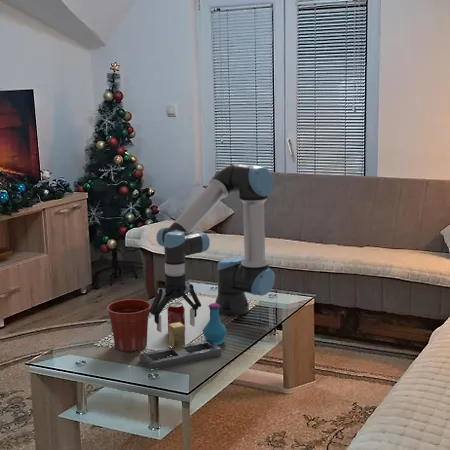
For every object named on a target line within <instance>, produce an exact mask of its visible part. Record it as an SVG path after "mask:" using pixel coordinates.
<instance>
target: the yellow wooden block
mask: <svg viewBox="0 0 450 450" xmlns="http://www.w3.org/2000/svg"><path fill="white" fill-rule="evenodd" d="M185 332H186V325H185V326H184V325H183V324H182V323H180V322H177V323H172V324H169V332H168V341H169V342H168V343H169V344H168V346H169V345H170V346H171V347H177V346H182V345H186V333H185ZM171 347H170V348H171Z"/></svg>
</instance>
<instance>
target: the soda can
mask: <svg viewBox="0 0 450 450" xmlns="http://www.w3.org/2000/svg"><path fill="white" fill-rule="evenodd" d="M166 309H167V311H166V312H167V327H168V328H167V332H168V333H169V324H172V323H177V322H180V323H182V324H183V325H184V326H185V327H186V319H185V318H186V317H185V316H186V315H185V307H184V305H183V302H179V301H178V302H177V301H175V302H170V303H169V304H168V307H167V308H166Z"/></svg>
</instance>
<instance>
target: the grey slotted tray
mask: <svg viewBox="0 0 450 450" xmlns="http://www.w3.org/2000/svg"><path fill="white" fill-rule="evenodd" d="M170 355H173V356H171V357H167V356H170ZM219 356H222V348H221V347H220V346H218V345H215V344H214V343H213V342H211V341H210V340H206V339H205V340H202V341H201V340H200V341H197V342H192V343H189V344H185V345H182V346H177V347H172V348H171V347H168V348H163V349H158V350H153V351H149V352H145V353H144V352H143V353H140V354H139V360H140V361H139V362H140V363H142V364H143V365H144V366H145V365H146V366H147V367H148V368H149V369H150V370H151V369H155V370H157V369H156V368H160V369H163V368H164V367H165V368H168V367H169V368H170V367H173V366H178V365H182V364H186V363H191V362H195V361H197V362H198V361H200V360H205V359H209V358H213V357H214V358H215V357H219ZM163 357H166V358H163ZM158 358H161V359H158ZM154 359H157V360H154ZM146 366H145V367H146ZM147 367H146V368H147ZM148 368H147V369H148ZM165 368H164V369H165ZM149 369H148V370H149ZM150 370H149V371H150ZM151 371H152V370H151Z"/></svg>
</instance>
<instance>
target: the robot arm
mask: <svg viewBox="0 0 450 450" xmlns="http://www.w3.org/2000/svg"><path fill="white" fill-rule="evenodd" d="M273 188H274V178H273V174H272V172H271V171H270V170H269V169H268V168H267V167H265V166H260V165H253V164H241V163H234V164H231V165H228V166H226V167H224V168H223V169H221V170H220V171H219V172H217V173H216V174H214V176H213V177H212V178H211V179H210V180H209V181H208V185H207V187H206V188H205V189H204V190H203V191H202V192H201V193H200V194H199V195H198V196H197V197H196V198H195V200H193V201H192V203H191V204H190V205H189V206H188V207H187V208H186V209H184V211H183V212H182V213H181V214H180V215H179V216H178V217H177V218H176V219H175V221H173V223H172V224H171V225H170V226H168V227H162V228H160V229H159V230H158V231H157V233H156V242H157V244H158V245H159V246H161V247H163V248H164V249H163V250H164V273H165V274H164V283H165V284H164V285H165V286H164V288H162V287H161V288H160V287H157V288H156V293H155V294H156V295H155V297H154V299H153V301H152V303H151V307H150V308H149V314H151V315H154V316H153V318H154V319H153V320H154V323H155V324H156V331H157V332H159V333H162V314H161V313H162V311H163V310H164V308H165V307H166V305H168V303H169V302H170V301H171V300H175V299H180V298H183V299H184V301H185V302H186V303H187V304H188V305H189V306H190V307H189V325H190V326H191V327H195V326H196V322H195V321H196V320H195V318H197V316H198V315H197V310H198V309H199V308H202V303H201V301H200V299H199V297H198V296H197V294H196V292H195V290H194V289H195V288H194V285H193V284H192V283H190V282H189V283H187V284H186V274H185V273H186V257H187V256H191V255H195V254H201V253H203V252H206V251H208V250H209V248H210V243H211V242H210V238H209V236H208V234H207V233H205V232H204V231H203V232H202V231H201V232H199V231H198V232H195V233H193V232H192V231H193V230H194V229H195V228H196V227H197V226H198V225H199V224H200V222H201V221H202V220H204V218H205V217H206V216H207V215H208V214H209V213H210V212H211V211H212V210H213V209H214V208H215V206H216V205H217V204H218V203H219V202H220V201H221V200H222V199H225V198H227V197H228V196H229V195H230V194H233V193H238V196H239V197H238V198H239V201H241V203H242V214H243V217H242V218H243V244H244V245H243V250H244V251H243V252H244V258H243V257H230V258H229V257H228V258H224V259H221V260H220V261H218V263H217V269H216V273H217V295H216V299H215V302H214V303H217V304H219V305H220V307H219V315H220V314H221V316H226V317H228V316H229V317H234V316H235V317H236V316H242V315H245V314H247V313H248V312H249V311H250V305H249V301H248V299H247V296H246V294H245V293H247V294H250V295H254V296H265V295H268V294H269V293H270V292H271V290H272V289H273V287H274V285H275V280H276V275H275V272H274V271H273V270H272V269H271V268H270V262H269V261H268V259H266V243H265V242H266V237H265V236H266V234H265V233H266V232H265V202H266V201H267V200H268V198H269V197H268V196H269V195H270V194H271V193H272V191H273ZM186 290H188V292H189V294H190V296H191V298H192V300H193V301H192V300H191V298H189V297H188V295H187V294H186V293H185V292H186ZM164 293H165V294H164ZM163 295H164V296H163ZM162 297H163V298H162Z"/></svg>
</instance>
